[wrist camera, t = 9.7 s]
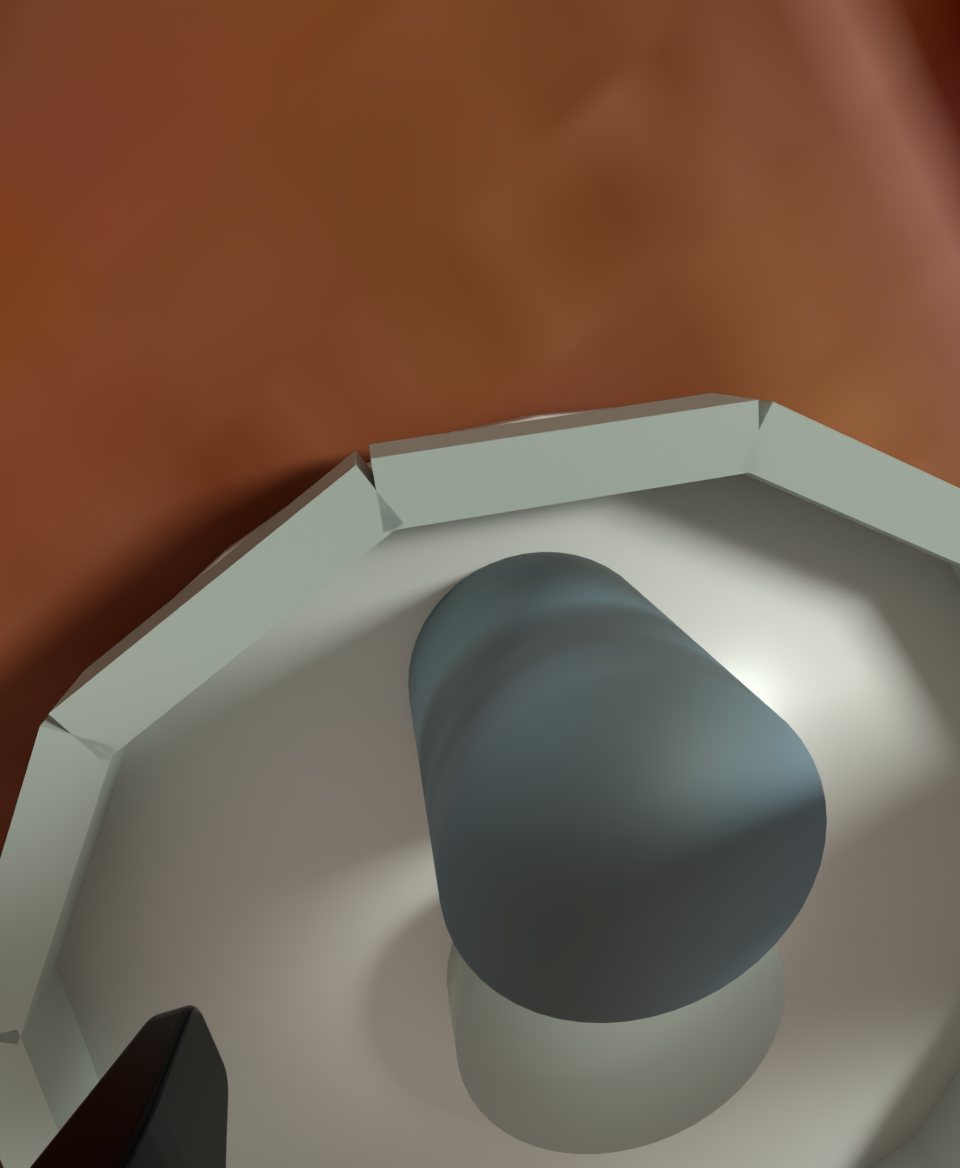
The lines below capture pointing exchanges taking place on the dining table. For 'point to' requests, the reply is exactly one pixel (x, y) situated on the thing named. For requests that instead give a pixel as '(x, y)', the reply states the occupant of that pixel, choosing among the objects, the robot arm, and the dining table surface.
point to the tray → (401, 833)
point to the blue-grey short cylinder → (602, 795)
